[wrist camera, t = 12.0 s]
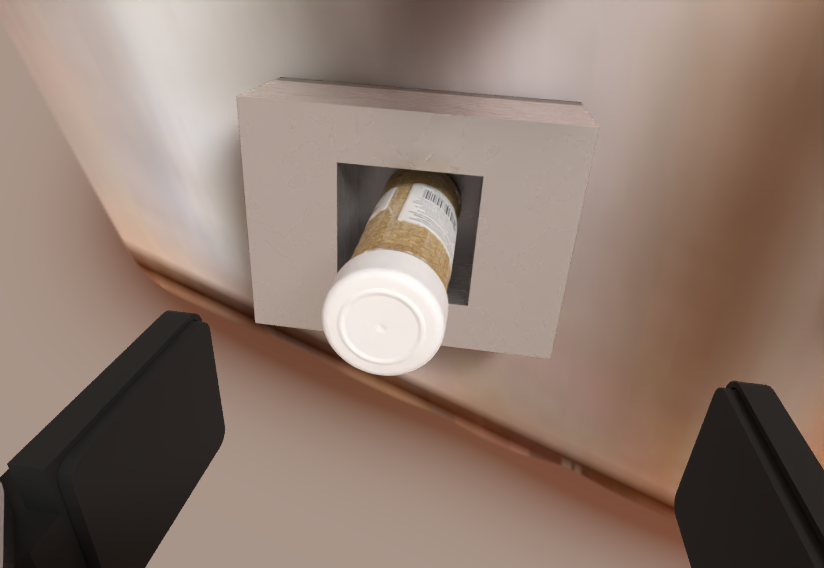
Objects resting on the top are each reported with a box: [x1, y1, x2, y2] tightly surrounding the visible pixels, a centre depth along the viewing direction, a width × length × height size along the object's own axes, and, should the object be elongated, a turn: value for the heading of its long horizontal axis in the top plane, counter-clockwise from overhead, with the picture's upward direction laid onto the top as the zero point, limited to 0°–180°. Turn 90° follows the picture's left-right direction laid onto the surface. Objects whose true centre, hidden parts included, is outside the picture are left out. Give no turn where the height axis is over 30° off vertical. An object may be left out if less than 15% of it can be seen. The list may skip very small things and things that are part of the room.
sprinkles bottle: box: [321, 169, 461, 376], centre depth 26 cm, size 5×5×13 cm
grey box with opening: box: [237, 77, 599, 359], centre depth 30 cm, size 16×12×6 cm
